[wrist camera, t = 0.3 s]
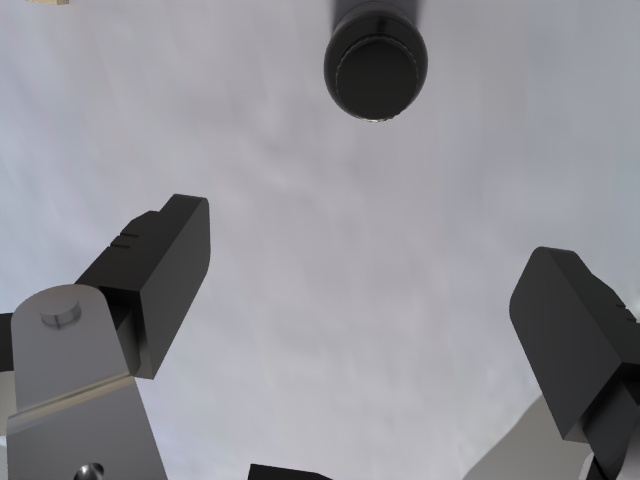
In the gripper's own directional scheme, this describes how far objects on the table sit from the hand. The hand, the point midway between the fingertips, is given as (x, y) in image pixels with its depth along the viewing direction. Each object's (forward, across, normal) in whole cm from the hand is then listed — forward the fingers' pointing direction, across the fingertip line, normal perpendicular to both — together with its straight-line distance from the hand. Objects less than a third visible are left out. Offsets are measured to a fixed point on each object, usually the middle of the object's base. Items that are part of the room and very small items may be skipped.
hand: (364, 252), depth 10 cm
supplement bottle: (+29, -1, -1) cm, 29 cm away
